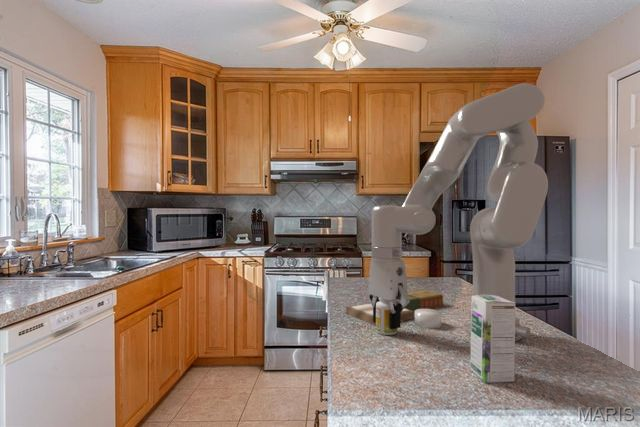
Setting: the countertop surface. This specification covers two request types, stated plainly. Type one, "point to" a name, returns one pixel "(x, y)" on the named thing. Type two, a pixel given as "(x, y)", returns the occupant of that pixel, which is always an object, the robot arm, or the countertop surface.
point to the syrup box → (493, 338)
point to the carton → (423, 299)
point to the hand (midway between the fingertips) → (386, 324)
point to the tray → (366, 313)
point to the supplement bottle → (383, 317)
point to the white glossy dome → (428, 318)
